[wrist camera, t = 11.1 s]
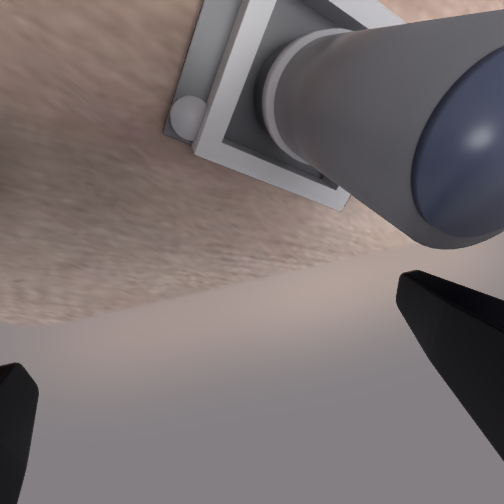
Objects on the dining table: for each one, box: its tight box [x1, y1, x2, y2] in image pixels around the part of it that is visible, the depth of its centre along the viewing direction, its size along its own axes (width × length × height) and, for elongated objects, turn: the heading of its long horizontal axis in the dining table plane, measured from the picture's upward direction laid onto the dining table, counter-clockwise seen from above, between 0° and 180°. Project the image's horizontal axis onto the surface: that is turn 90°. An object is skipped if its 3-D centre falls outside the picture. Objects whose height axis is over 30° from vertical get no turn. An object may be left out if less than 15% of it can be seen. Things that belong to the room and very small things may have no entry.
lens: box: [254, 9, 504, 249], centre depth 12 cm, size 5×5×12 cm
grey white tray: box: [163, 0, 407, 211], centre depth 17 cm, size 12×9×3 cm
